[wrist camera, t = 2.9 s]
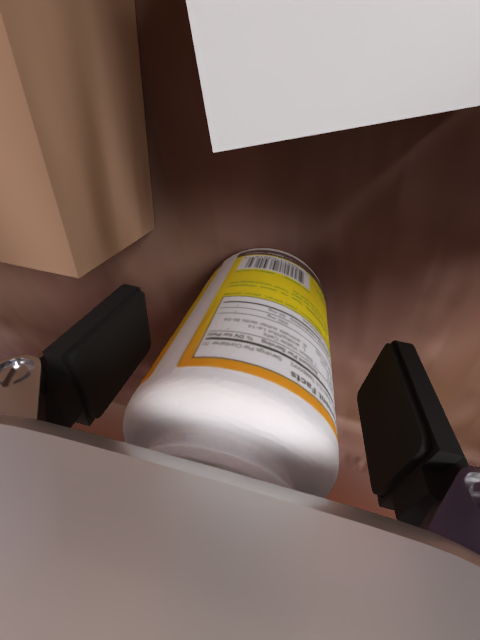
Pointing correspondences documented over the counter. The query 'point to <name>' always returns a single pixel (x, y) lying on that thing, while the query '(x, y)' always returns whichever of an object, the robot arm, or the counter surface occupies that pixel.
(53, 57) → the brown square block
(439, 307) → the counter surface
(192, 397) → the supplement bottle
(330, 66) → the white cube
